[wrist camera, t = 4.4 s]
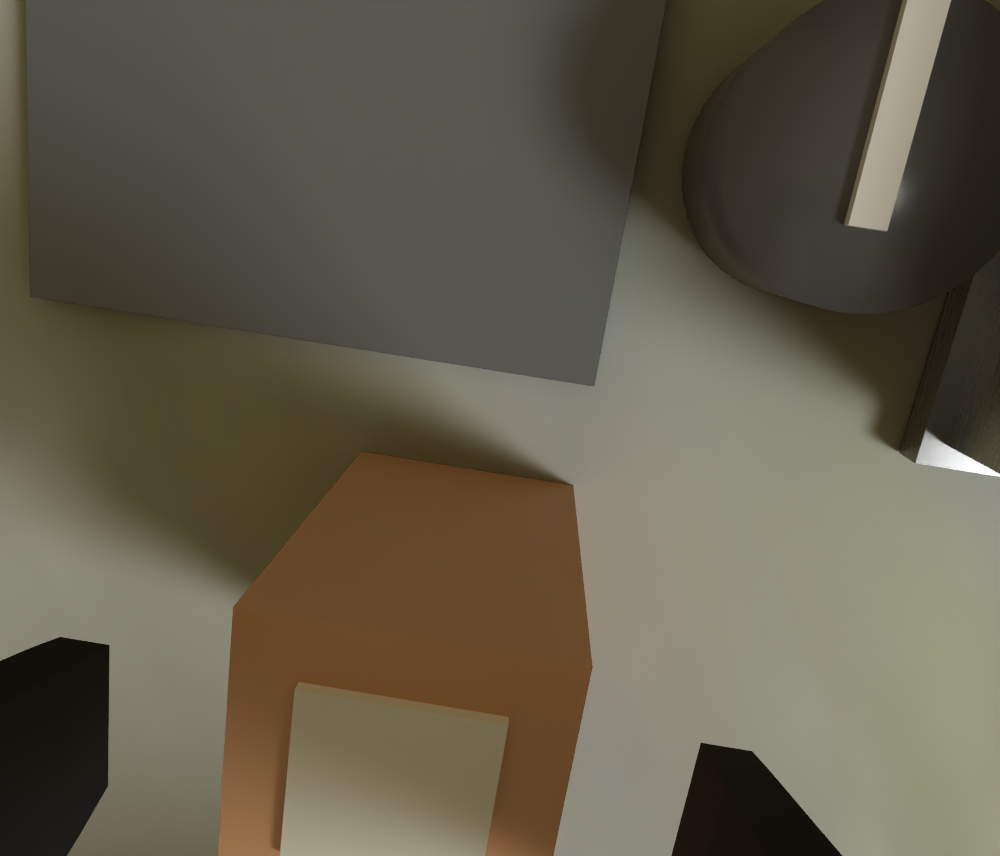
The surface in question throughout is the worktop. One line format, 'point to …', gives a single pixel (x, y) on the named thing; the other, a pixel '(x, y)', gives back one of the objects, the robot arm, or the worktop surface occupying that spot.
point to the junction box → (962, 382)
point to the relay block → (410, 671)
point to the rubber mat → (343, 168)
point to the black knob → (855, 156)
